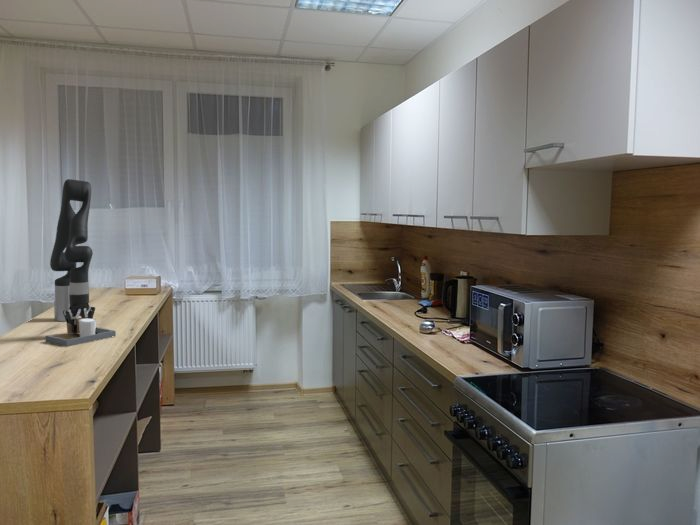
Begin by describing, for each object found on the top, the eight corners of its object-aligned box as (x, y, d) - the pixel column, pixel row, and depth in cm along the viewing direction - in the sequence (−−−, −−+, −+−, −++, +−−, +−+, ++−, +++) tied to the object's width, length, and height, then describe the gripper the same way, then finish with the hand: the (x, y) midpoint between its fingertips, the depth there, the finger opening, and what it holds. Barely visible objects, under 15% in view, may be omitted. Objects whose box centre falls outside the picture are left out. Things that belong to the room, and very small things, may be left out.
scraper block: (67, 333, 230) (66, 319, 230) (76, 331, 234) (74, 318, 233) (78, 333, 226) (77, 319, 226) (87, 331, 230) (86, 318, 229)
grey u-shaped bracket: (45, 341, 216) (45, 335, 216) (94, 332, 235) (94, 326, 235) (66, 346, 209) (66, 340, 209) (115, 336, 228) (115, 330, 228)
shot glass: (99, 335, 229) (100, 319, 228) (87, 339, 223) (87, 322, 222) (87, 332, 231) (87, 317, 230) (74, 336, 225) (74, 320, 224)
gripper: (89, 289, 235) (89, 328, 237) (57, 293, 223) (58, 333, 225) (99, 291, 232) (100, 330, 233) (68, 295, 219) (69, 336, 221)
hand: (79, 331), depth 229 cm, fingers closed on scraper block, 4 cm apart
